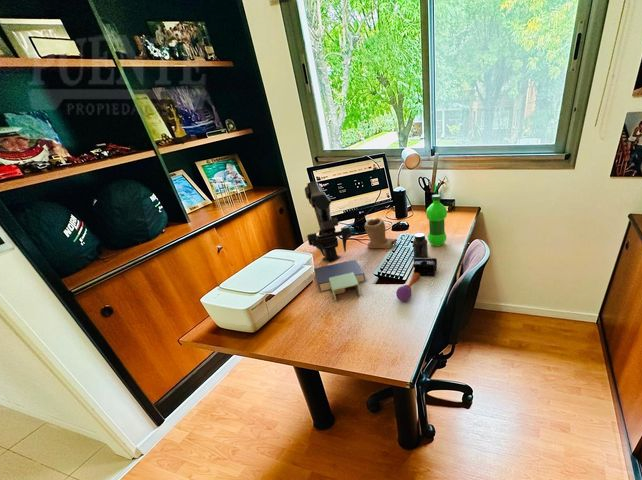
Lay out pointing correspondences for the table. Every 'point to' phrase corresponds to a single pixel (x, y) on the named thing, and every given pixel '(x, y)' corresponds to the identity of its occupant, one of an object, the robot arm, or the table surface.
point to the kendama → (407, 288)
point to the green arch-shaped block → (343, 282)
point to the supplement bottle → (420, 246)
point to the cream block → (339, 291)
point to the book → (337, 273)
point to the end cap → (425, 266)
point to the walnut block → (350, 288)
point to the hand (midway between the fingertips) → (334, 253)
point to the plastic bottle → (436, 221)
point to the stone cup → (378, 234)
